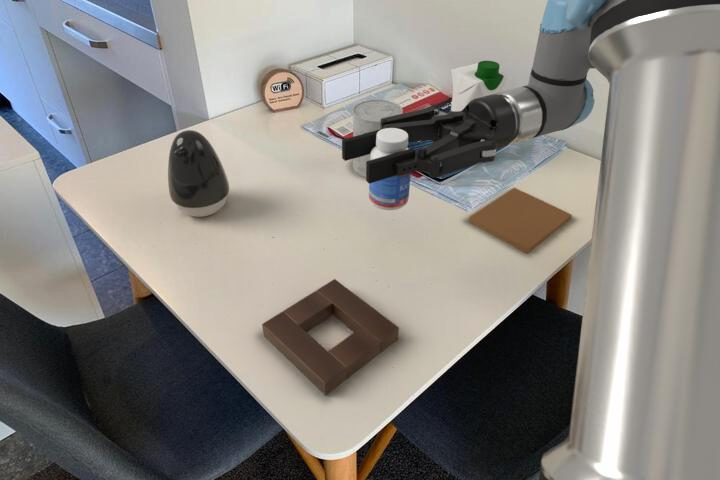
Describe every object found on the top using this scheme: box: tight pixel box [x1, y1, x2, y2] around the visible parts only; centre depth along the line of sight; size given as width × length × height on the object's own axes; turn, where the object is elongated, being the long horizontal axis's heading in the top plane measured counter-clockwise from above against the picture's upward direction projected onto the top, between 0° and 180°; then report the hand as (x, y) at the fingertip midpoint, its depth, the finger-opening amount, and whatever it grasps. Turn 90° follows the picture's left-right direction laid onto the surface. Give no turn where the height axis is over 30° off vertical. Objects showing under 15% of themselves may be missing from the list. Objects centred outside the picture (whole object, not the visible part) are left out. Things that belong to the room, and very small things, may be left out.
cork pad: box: [468, 187, 573, 254], centre depth 92 cm, size 14×12×1 cm
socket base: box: [261, 278, 400, 396], centre depth 70 cm, size 13×13×2 cm
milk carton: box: [450, 60, 509, 112], centre depth 105 cm, size 9×9×20 cm
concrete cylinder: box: [352, 99, 404, 178], centre depth 103 cm, size 10×10×12 cm
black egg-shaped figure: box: [167, 129, 230, 218], centre depth 90 cm, size 10×10×15 cm
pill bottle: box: [368, 128, 412, 211], centre depth 68 cm, size 6×5×10 cm
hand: (355, 161), depth 64 cm, fingers closed on pill bottle, 5 cm apart
